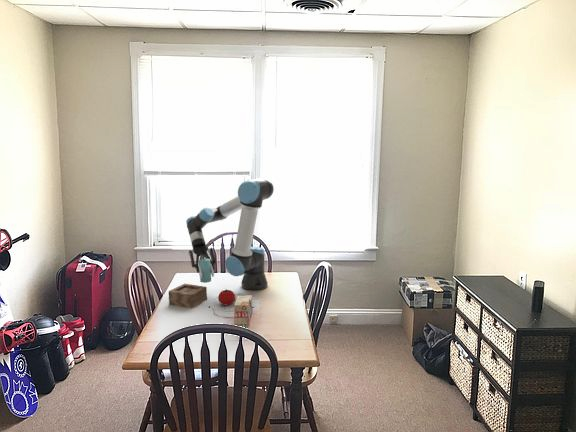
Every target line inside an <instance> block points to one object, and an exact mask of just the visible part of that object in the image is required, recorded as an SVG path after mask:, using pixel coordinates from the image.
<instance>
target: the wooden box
mask: <svg viewBox="0 0 576 432" xmlns="http://www.w3.org/2000/svg"><path fill="white" fill-rule="evenodd" d="M207 300H208V288H207V286H203V285H196V284H191V283H190V284H189V283H183V284H180V285H178V286H176V287H175V288H172V289H170V290H168V304H169V305H170V306H176V307H181V308H188V309H194V308H195V307H196V306H199V305H200V304H202V303H204V302H205V301H207Z"/></svg>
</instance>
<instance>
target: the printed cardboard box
mask: <svg viewBox="0 0 576 432" xmlns="http://www.w3.org/2000/svg"><path fill="white" fill-rule="evenodd" d="M234 302H235V303H234V306H233V312H234V326H235V325H237V326H242V327H245V328H250V325H251V321H252V320H251V319H252V317H253V295H237V297H236V299H235V301H234Z"/></svg>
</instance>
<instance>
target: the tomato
mask: <svg viewBox="0 0 576 432" xmlns="http://www.w3.org/2000/svg"><path fill="white" fill-rule="evenodd" d="M217 298H218V299H217V300H218V302H219V303H220V304H221V305H224V306H230V305H232V304H233V303H234V302H235V301H236V294H235V293H234V291H232V290H231V289H227V288H225V289H224V290H221V291H219V294H218V296H217Z"/></svg>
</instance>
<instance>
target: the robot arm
mask: <svg viewBox="0 0 576 432" xmlns="http://www.w3.org/2000/svg"><path fill="white" fill-rule="evenodd" d="M273 194H274V185H273V183H272V182H271V180H269V179H268V178H265V177H261V178H255V179H247V180H245V181H243V182H242V183H240V184H239V186H238V189H237V196H236V197H234V198H232V199H230V200H228V201H227V202H224V203H223V204H221V205H220V206H218V207H215V208H211V207H208V206H206V207H203V209H201V210H200V211H199V212H198V213H197V215H194V216H193V215H192V216H190V217H188V218H187V219H186V222H185V224H186V228H187V231H188V232H187V233H188V234H189V238H190V242H191V247H192V249H190V250H188V255H189V259H190V264H191V267H192V269H193V268H194V269H195V270H196V273H197V274H198V276H199V280H200V279H201V278H202V272H201V268H200V265H199V260H200V257H201V256H202V257H204V259H210V264H211V278H214V276H215V265H216V264H217V260H216V258H215V255H214V254H215V253H214V252H213V247H210V248H208V246H207V244H206V241H205V237H204V233H203V228H205V226H207V224H210V223H211V224H212V223H214V222H217V221H218V222H219V221H223V220H226V219H227V218H228V217H229V216H231V215H232V214H234V213H237V212H239V211H240V217H239V221H238V222H239V224H238V227H237V232H236V233H237V234H236V239H235V244H234V247H232V249H231V251H230V254H229V255H230V256H228V257H227V258H226V259H225V261H224V265H225V269H226V271H227V273H228V274H229V275H231V276H233V277H239V276H242V279H241V283H240V284H241V288H242V289H244V290H249V291H260V290H263V289H266V288H267V287H268V284H269V282H268V280H267V276H266V273H265V255H266V254H265V249H264V248H262V247H259V246H252V243H253V238H254V233H255V228H256V223H257V216H258V213H259V212H258V211H259V209H260V208H262V206H263V201H264V200H267V199H269V198H271V197H272V195H273ZM208 253H209V255H208ZM194 255H196V256H194ZM194 257H196V258H195V259H194Z"/></svg>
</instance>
